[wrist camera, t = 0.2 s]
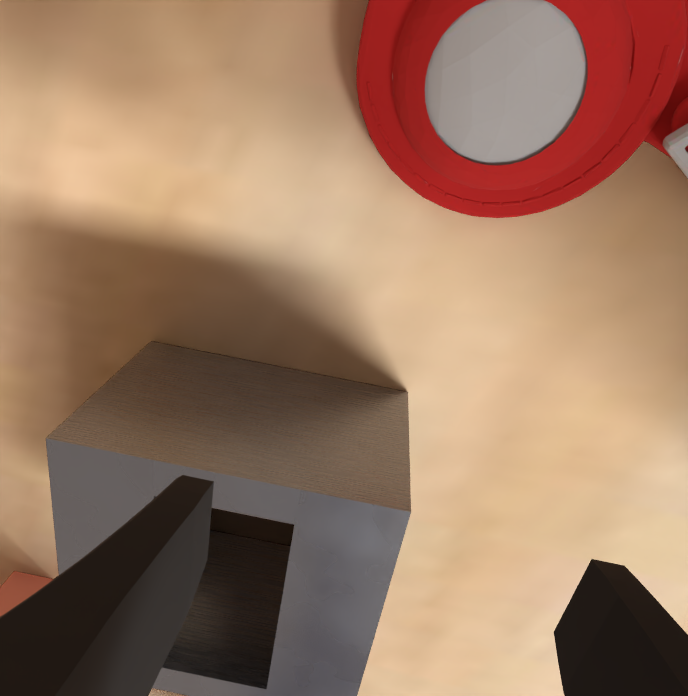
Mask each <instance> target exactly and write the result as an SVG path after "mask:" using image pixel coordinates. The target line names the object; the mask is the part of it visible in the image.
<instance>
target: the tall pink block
mask: <svg viewBox="0 0 688 696" xmlns="http://www.w3.org/2000/svg"><path fill="white" fill-rule="evenodd" d="M52 580H53V579H50V578H45V577H41V576H36V575H31V574H26V573H21V572H16V571H14V572H13V573H12V574H11V575H10V577H9V578H8V579H7V580H6V581H5V582H4V584H3V585H2V586H1V587H0V617H1V616H2V615H4V614H5V613H7V612H8V611H10V610H11V609H12V608H14V607H15V606H17V605H18V604H20V603H21V602H23V601H24V600H26V599H27V598H28V597H30V596H31V595H33V594H34V593H36V592H37V591H38V590H40V589H41V588H42V587H44V586H45V585H46V584H48V583H49V582H51V581H52Z"/></svg>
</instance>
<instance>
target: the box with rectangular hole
mask: <svg viewBox="0 0 688 696" xmlns="http://www.w3.org/2000/svg"><path fill="white" fill-rule="evenodd" d="M46 446H47V456H48V467H49V477H50V488H51V498H52V508H53V519H54V529H55V540H56V550H57V561H58V571H59V575H60V574H61V573H63V572H64V571H65V570H67V569H68V568H69V567H71V566H72V565H74V564H75V563H76V562H78V561H79V560H80V559H82V558H83V557H84V556H85V555H87V554H88V553H89V552H91V551H92V550H93V549H94V548H96V547H97V546H98V545H99V544H100V543H102V542H103V541H104V540H105V539H107V538H108V537H109V536H110V535H112V534H113V533H114V532H115V531H117V530H118V529H119V528H120V527H121V526H123V525H124V524H125V523H126V522H128V521H129V520H130V519H131V518H132V517H133V516H135V515H136V514H137V513H138V512H139V511H140V510H142V509H143V508H144V507H145V506H146V505H147V504H148V503H150V502H151V501H152V500H153V499H154V498H155V497H156V496H158V495H159V494H160V493H161V492H162V491H163V490H164V489H165V488H166V487H168V486H169V485H170V484H171V483H172V482H173V481H174V480H175V479H176V478H178V477H180V476H182V475H186V476H190V477H195V478H200V479H205V480H210V481H214V486H213V498H212V508H215V509H220V510H225V511H230V512H235V513H240V514H245V515H250V516H255V517H260V518H264V519H269V520H274V521H279V522H284V523H289V524H294V530H293V536H292V542H291V546H286V545H281V544H276V543H271V542H266V541H261V540H257V539H252V538H247V537H242V536H237V535H232V534H227V533H222V532H217V531H212V530H210V534H209V546H208V558H207V562H206V565H205V568H204V571H203V573H202V576H201V579H200V582H199V585H198V588H197V590H196V593H195V596H194V598H193V601H192V604H191V606H190V609H189V612H188V614H187V616H186V618H185V620H184V623H183V625H182V627H181V629H180V631H179V633H178V635H177V637H176V639H175V641H174V643H173V646H172V648H171V650H170V652H169V654H168V656H167V658H166V660H165V662H164V664H163V666H162V668H161V670H160V672H159V674H158V676H157V679H156V681H155V683H154V685H153V687H152V688H154V689H159V690H164V691H169V692H173V693H178V694H183V695H188V696H357V694H358V691H359V687H360V684H361V680H362V677H363V673H364V670H365V667H366V663H367V660H368V656H369V653H370V650H371V646H372V643H373V639H374V636H375V633H376V629H377V626H378V622H379V619H380V616H381V612H382V609H383V605H384V602H385V599H386V595H387V592H388V588H389V585H390V581H391V578H392V575H393V571H394V568H395V564H396V561H397V558H398V554H399V551H400V547H401V544H402V541H403V537H404V534H405V530H406V527H407V524H408V520H409V517H410V513H411V498H410V459H409V420H408V392H405V391H400V390H395V389H390V388H385V387H380V386H375V385H370V384H365V383H360V382H355V381H350V380H345V379H339V378H334V377H329V376H324V375H319V374H314V373H309V372H304V371H299V370H294V369H289V368H284V367H279V366H274V365H269V364H264V363H259V362H253V361H248V360H243V359H238V358H233V357H228V356H223V355H218V354H213V353H208V352H203V351H198V350H193V349H188V348H183V347H178V346H173V345H167V344H162V343H157V342H152V341H151V342H150V343H149V344H147V345H146V346H145V347H144V348H143V349H142V350H141V351H140V352H139V353H138V354H137V355H136V356H134V357H133V358H132V359H131V360H130V361H129V362H128V363H127V364H126V365H125V366H124V367H122V368H121V369H120V370H119V371H118V372H117V373H116V374H115V375H114V376H113V377H112V378H111V379H109V380H108V381H107V382H106V383H105V384H104V385H103V386H102V387H101V388H100V389H99V390H98V391H96V392H95V393H94V394H93V395H92V396H91V397H90V398H89V399H88V400H87V401H86V402H85V403H83V404H82V405H81V406H80V407H79V408H78V409H77V410H76V411H75V412H74V413H73V414H72V415H70V416H69V417H68V418H67V419H66V420H65V421H64V422H63V423H62V424H61V425H60V426H59V427H57V428H56V429H55V430H54V431H53V432H52V433H51V434H50V435H49V436H48V437H47V438H46Z"/></svg>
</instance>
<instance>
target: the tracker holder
mask: <svg viewBox="0 0 688 696" xmlns="http://www.w3.org/2000/svg"><path fill="white" fill-rule="evenodd" d="M357 91H358V99H359V105H360V109H361V112H362V115H363V118H364V120H365V123H366V126H367V129H368V132H369V135H370V137H371V139H372V141H373V143H374V144H375V146H376V148H377V150H378V152H379V153H380V155H381V156H382V158H383V159H384V160H385V162H386V163H387V165H388V166H389V167H390V169H391V170H392V171H393V172H394V173H395V174H396V175H397V176H398V177H399V178H400V179H401V180H402V181H403V182H405V183H406V184H407V185H408V186H409V187H410V188H412V189H413V190H414V191H415V192H417V193H418V194H419V195H421V196H422V197H424V198H426V199H428V200H430V201H432V202H434V203H436V204H438V205H440V206H442V207H444V208H447V209H450V210H453V211H456V212H459V213H463V214H467V215H471V216H479V217H492V218H503V217H517V216H523V215H528V214H533V213H538V212H542V211H545V210H548V209H551V208H554V207H556V206H559V205H561V204H564V203H566V202H568V201H570V200H572V199H574V198H576V197H578V196H581V195H582V194H584V193H585V192H587V191H588V190H590V189H591V188H593V187H595V186H596V185H598V184H599V183H601V182H602V181H603V180H604V179H606V178H607V177H608V176H610V175H611V174H612V173H613V172H615V171H616V170H617V169H618V168H619V167H620V166H621V165H622V164H623V163H624V162H625V161H626V160H628V158H629V157H630V156H631V155H632V154H633V153H634V152H635V150H636V149H637V148H638V147H639V146H640V145H641V144H642V142H643V141H645V142H648V143H650V144H651V145H653V146H654V147H656V148H657V149H659V150H660V151H662V152H663V153H665V154H666V155H668V156H669V157H671V158H672V159H673V160H674V161H675V163H676V164H677V165H678V167H679V168H680V169H681V171H682V172H683V173H684V175H685V176H686V177H687V179H688V0H369V2H368V6H367V10H366V14H365V18H364V22H363V28H362V33H361V39H360V45H359V53H358V61H357Z"/></svg>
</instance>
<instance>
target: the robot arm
mask: <svg viewBox="0 0 688 696" xmlns="http://www.w3.org/2000/svg"><path fill="white" fill-rule="evenodd" d="M213 486H214V481H210V480H205V479H200V478H195V477H190V476H186V475H182V476H180V477H178V478H176V479H175V480H174V481H173V482H172V483H171V484H170V485H169V486H168V487H166V488H165V489H164V490H163V491H162V492H161V493H160V494H159V495H158V496H156V497H155V498H154V499H153V500H152V501H151V502H150V503H148V504H147V505H146V506H145V507H144V508H143V509H142V510H140V511H139V512H138V513H137V514H136V515H135V516H133V517H132V518H131V519H130V520H129V521H128V522H126V523H125V524H124V525H123V526H121V527H120V528H119V529H118V530H117V531H115V532H114V533H113V534H112V535H110V536H109V537H108V538H107V539H105V540H104V541H103V542H102V543H100V544H99V545H98V546H97V547H96V548H94V549H93V550H92V551H91V552H89V553H88V554H87V555H85V556H84V557H83V558H82V559H80V560H79V561H78V562H76V563H75V564H74V565H72V566H71V567H69V568H68V569H67V570H65V571H64V572H63V573H61V574H60V575H59V576H57V577H56V578H55V579H53V580H52V581H51V582H49V583H48V584H46V585H45V586H44V587H42V588H41V589H40V590H38V591H37V592H36V593H34V594H33V595H31V596H30V597H28V598H27V599H26V600H24V601H23V602H21V603H20V604H18V605H17V606H15V607H14V608H12V609H11V610H10V611H8V612H7V613H5V614H4V615H2V616H1V617H0V696H148V695H149V693H150V691H151V689H152V687H153V685H154V683H155V681H156V679H157V676H158V674H159V672H160V670H161V668H162V666H163V664H164V662H165V660H166V658H167V656H168V654H169V652H170V650H171V648H172V646H173V643H174V641H175V639H176V637H177V635H178V633H179V631H180V629H181V627H182V625H183V623H184V620H185V618H186V616H187V614H188V612H189V609H190V606H191V604H192V601H193V598H194V596H195V593H196V590H197V588H198V585H199V582H200V579H201V576H202V573H203V571H204V568H205V565H206V562H207V558H208V546H209V534H210V522H211V510H212V498H213ZM554 636H555V643H556V650H557V656H558V663H559V669H560V675H561V680H562V686H563V691H564V695H565V696H688V635H687V634H686V632H685V631H684V630H683V629H682V628H681V627H680V626H679V625H678V624H677V622H676V621H675V620H674V619H673V618H672V617H671V616H670V615H669V613H668V612H667V611H666V610H665V609H664V608H663V607H662V606H661V605H660V603H659V602H658V601H657V600H656V599H655V598H654V597H653V596H652V595H651V594H650V592H649V591H648V590H647V589H646V588H645V587H644V586H643V585H642V584H641V583H640V582H639V581H638V579H637V578H636V577H635V576H634V575H633V574H632V573H631V572H630V571H629V570H628V569H627V568H626V567H625V566H623V565H618V564H613V563H608V562H603V561H599V560H594V559H592V560H591V561H590V563H589V565H588V567H587V569H586V571H585V573H584V575H583V577H582V579H581V581H580V583H579V585H578V586H577V588H576V590H575V592H574V594H573V596H572V598H571V600H570V602H569V604H568V606H567V608H566V610H565V612H564V613H563V615H562V617H561V619H560V621H559V623H558V625H557V627H556V629H555V631H554Z"/></svg>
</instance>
